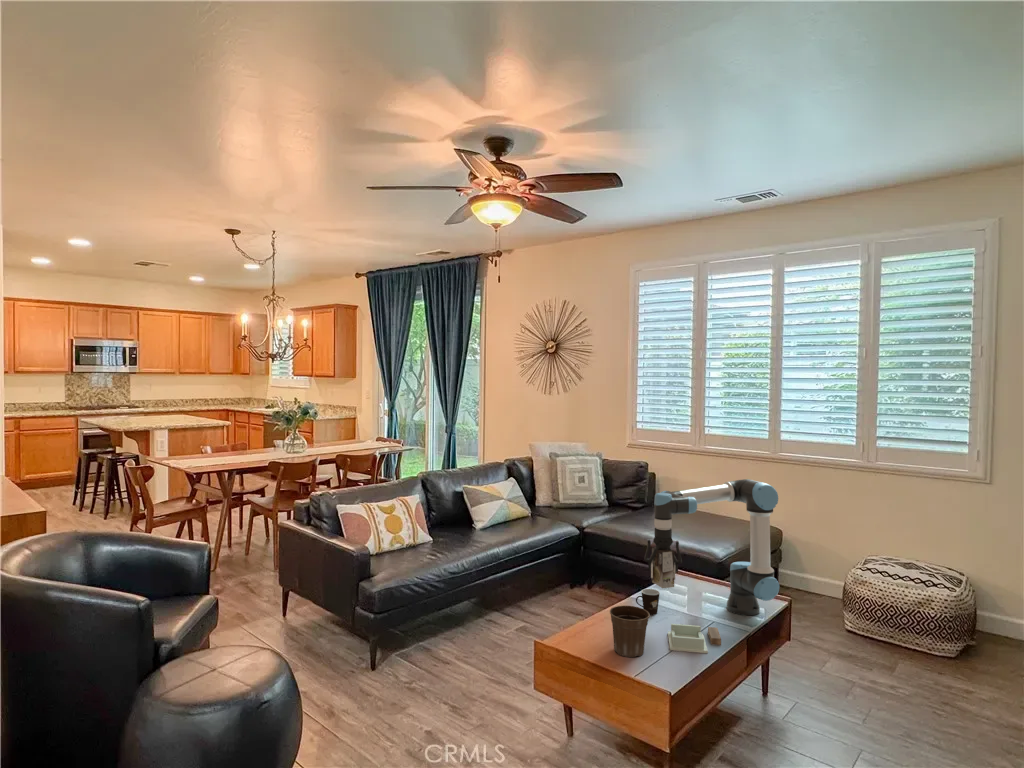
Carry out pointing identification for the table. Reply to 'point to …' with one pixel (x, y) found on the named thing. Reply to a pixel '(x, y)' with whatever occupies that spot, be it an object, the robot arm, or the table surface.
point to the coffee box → (663, 568)
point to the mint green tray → (687, 638)
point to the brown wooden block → (714, 635)
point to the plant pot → (629, 630)
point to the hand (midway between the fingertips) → (663, 577)
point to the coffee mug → (650, 600)
